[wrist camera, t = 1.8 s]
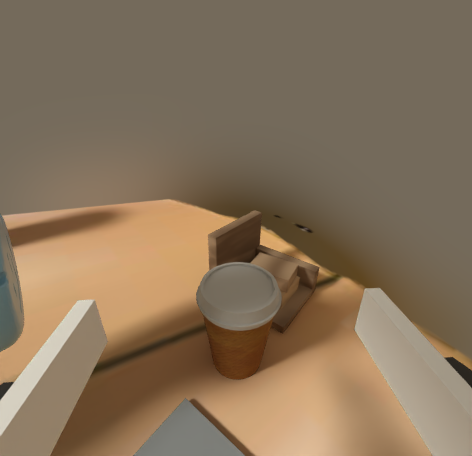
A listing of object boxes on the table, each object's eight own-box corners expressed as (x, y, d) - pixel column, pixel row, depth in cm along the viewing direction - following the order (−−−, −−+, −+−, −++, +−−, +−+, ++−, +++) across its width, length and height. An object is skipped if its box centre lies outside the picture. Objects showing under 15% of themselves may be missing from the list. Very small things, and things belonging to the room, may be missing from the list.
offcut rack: (210, 295, 43) (208, 234, 37) (252, 262, 52) (255, 209, 47) (280, 337, 35) (289, 268, 30) (314, 290, 45) (326, 231, 39)
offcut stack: (240, 287, 43) (241, 263, 41) (259, 271, 47) (260, 249, 45) (281, 309, 39) (285, 284, 36) (298, 289, 43) (302, 265, 41)
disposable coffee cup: (191, 340, 35) (185, 270, 29) (251, 319, 38) (256, 253, 33) (216, 408, 27) (213, 330, 22) (288, 373, 31) (301, 299, 25)
